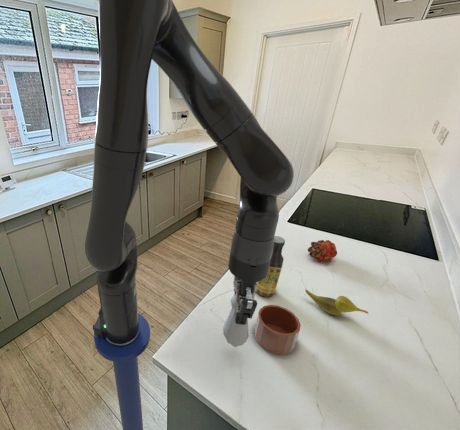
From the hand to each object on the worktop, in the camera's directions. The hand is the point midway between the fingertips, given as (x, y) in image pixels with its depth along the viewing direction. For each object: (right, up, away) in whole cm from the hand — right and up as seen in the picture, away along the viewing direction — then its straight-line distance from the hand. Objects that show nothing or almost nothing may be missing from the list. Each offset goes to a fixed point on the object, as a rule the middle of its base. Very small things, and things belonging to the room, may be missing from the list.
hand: (238, 314), depth 59 cm
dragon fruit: (+45, +6, +40) cm, 61 cm away
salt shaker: (0, -8, +4) cm, 8 cm away
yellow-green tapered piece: (+33, -6, +17) cm, 38 cm away
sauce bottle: (+17, -2, +26) cm, 31 cm away
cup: (+13, -10, +10) cm, 19 cm away
